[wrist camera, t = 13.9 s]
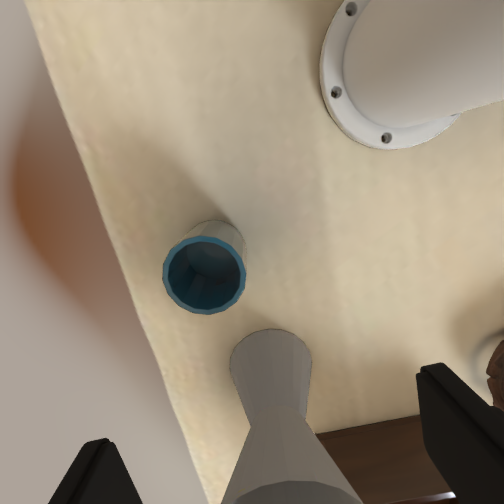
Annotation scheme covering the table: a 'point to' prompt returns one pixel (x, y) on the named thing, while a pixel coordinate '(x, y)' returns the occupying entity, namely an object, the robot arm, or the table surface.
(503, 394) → the pottery mug
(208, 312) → the cup
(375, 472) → the chest
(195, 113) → the table surface
